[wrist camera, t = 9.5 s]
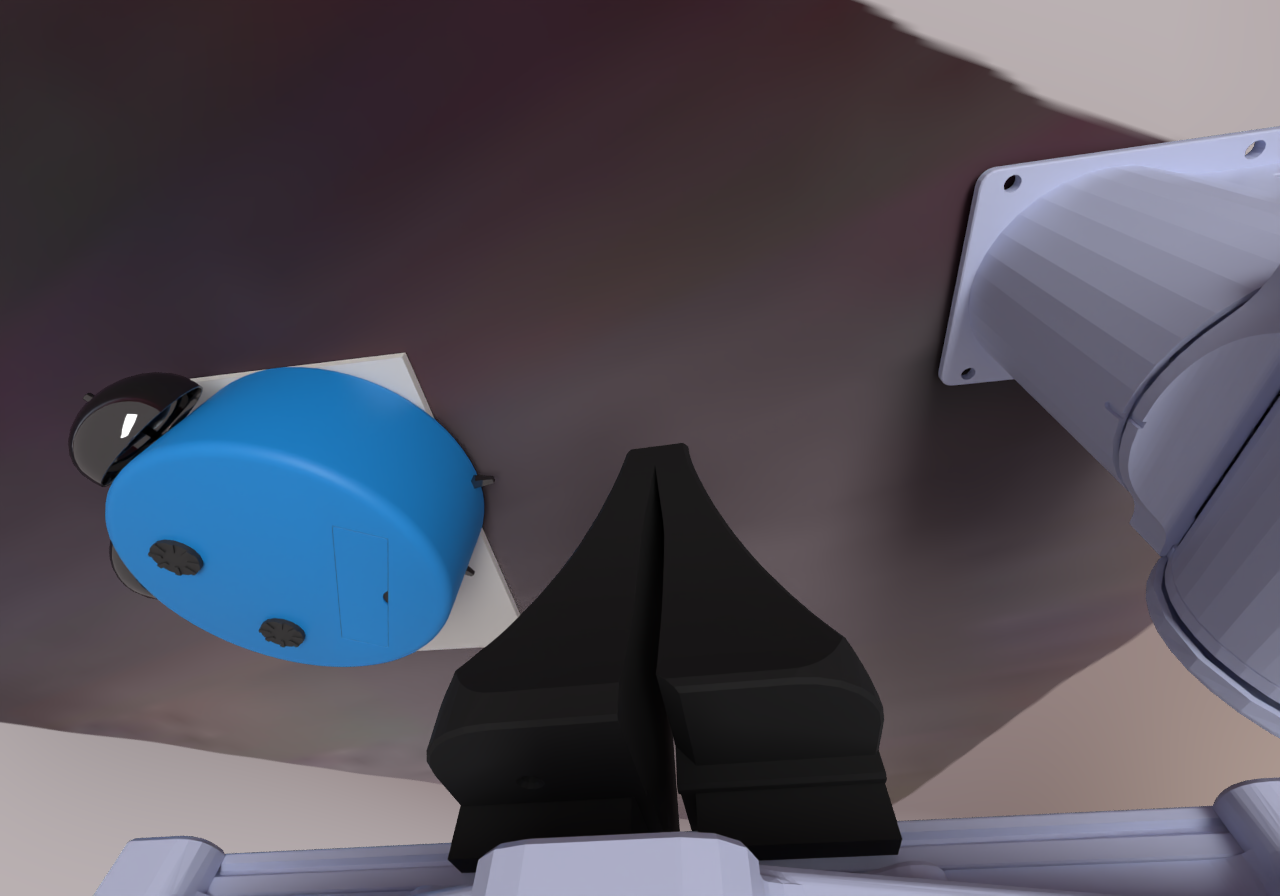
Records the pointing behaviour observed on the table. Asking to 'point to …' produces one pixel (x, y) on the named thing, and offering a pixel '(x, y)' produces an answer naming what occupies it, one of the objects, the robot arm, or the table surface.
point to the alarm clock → (285, 509)
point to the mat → (486, 593)
